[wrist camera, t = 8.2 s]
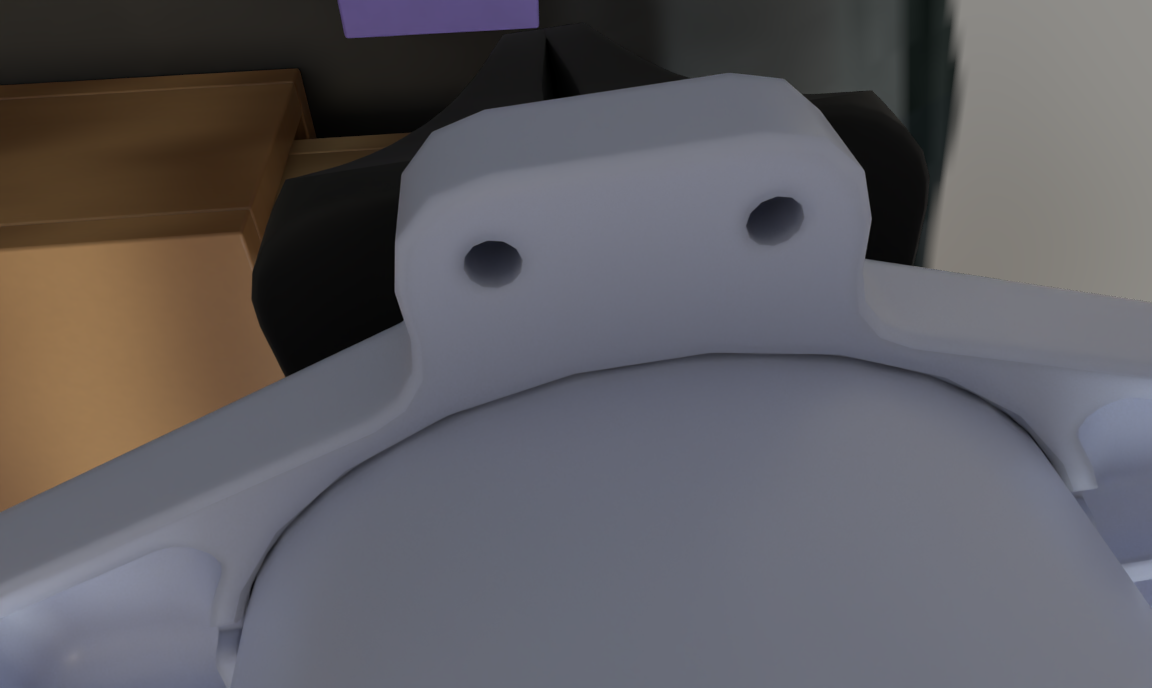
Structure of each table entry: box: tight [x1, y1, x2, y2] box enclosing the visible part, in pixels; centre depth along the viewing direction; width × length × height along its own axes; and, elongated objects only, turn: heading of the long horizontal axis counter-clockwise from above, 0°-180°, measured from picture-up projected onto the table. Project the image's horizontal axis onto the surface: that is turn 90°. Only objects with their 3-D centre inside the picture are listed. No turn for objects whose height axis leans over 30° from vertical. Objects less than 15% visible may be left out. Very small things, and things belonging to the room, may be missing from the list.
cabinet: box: [0, 69, 317, 512], centre depth 22 cm, size 16×13×8 cm
